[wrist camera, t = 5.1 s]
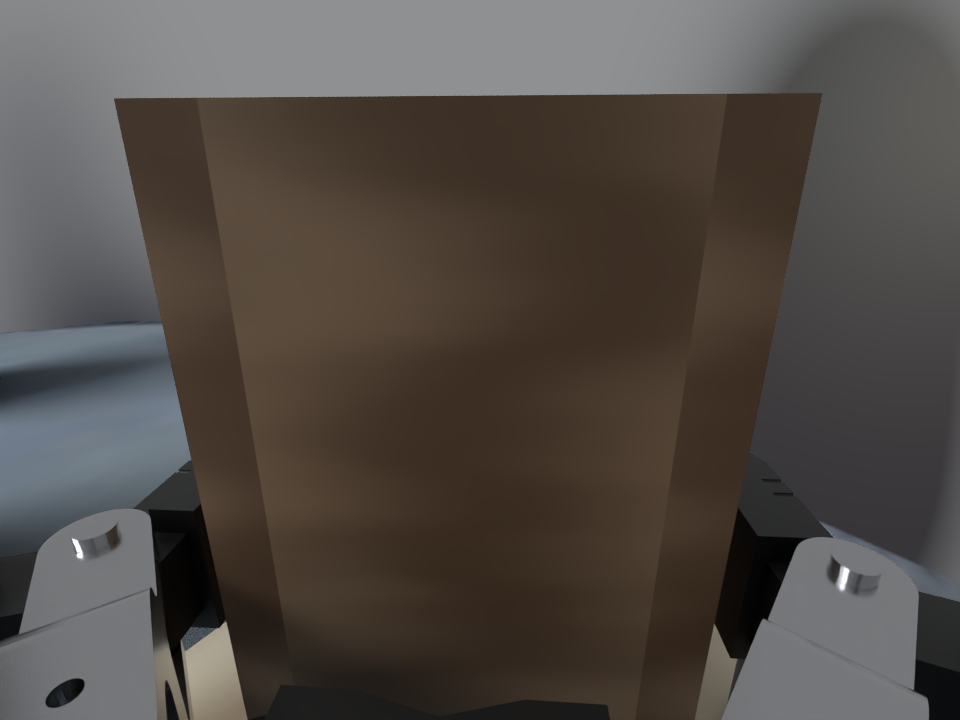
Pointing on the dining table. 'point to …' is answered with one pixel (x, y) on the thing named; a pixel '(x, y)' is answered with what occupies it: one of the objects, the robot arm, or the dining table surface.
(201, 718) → the board
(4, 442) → the dining table surface
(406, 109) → the sleeve
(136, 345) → the dining table surface
